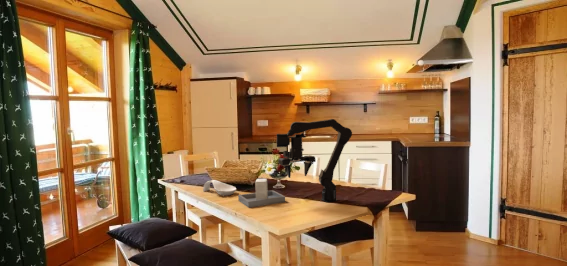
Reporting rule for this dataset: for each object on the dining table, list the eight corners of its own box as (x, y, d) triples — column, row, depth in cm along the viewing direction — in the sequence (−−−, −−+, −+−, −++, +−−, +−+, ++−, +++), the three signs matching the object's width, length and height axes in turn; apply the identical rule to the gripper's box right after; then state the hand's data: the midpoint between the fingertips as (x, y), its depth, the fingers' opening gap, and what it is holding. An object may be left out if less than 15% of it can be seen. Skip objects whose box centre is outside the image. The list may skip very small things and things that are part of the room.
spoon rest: (240, 193, 216) (240, 181, 215) (225, 198, 207) (225, 185, 206) (213, 189, 230) (212, 177, 230) (197, 193, 221) (197, 181, 221)
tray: (273, 195, 208) (272, 190, 208) (285, 202, 194) (285, 196, 194) (238, 200, 200) (238, 194, 200) (248, 207, 186) (248, 201, 185)
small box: (257, 197, 201) (256, 178, 200) (267, 197, 201) (267, 178, 200) (255, 201, 193) (254, 181, 192) (266, 201, 193) (265, 181, 192)
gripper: (305, 143, 203) (306, 172, 204) (273, 146, 195) (274, 176, 196) (315, 145, 192) (316, 175, 194) (282, 148, 185) (283, 180, 186)
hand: (297, 176), depth 193 cm, fingers open, 9 cm apart
